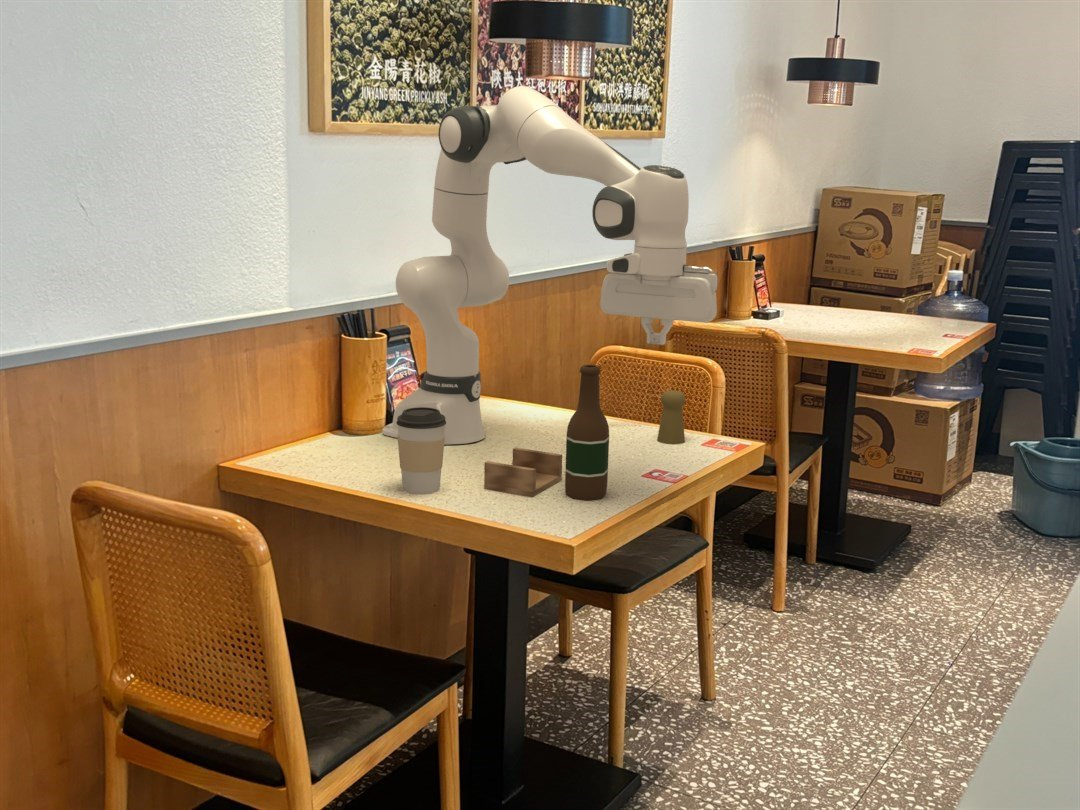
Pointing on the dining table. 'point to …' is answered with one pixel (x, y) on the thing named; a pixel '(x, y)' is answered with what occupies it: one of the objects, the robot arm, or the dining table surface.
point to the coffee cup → (421, 449)
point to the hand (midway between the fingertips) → (656, 343)
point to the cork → (672, 418)
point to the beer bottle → (587, 442)
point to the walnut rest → (524, 472)
